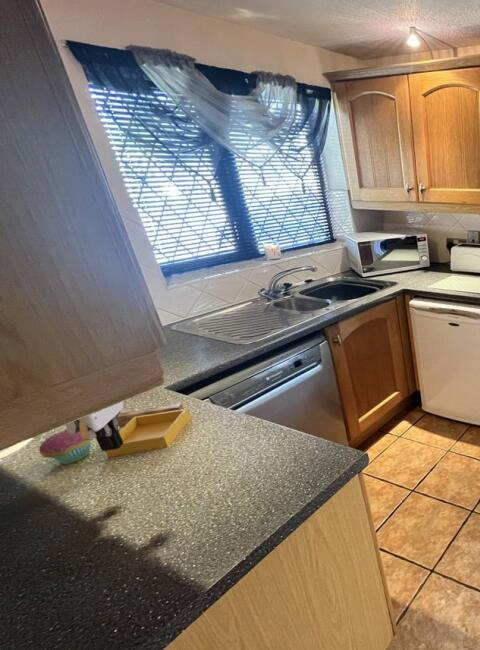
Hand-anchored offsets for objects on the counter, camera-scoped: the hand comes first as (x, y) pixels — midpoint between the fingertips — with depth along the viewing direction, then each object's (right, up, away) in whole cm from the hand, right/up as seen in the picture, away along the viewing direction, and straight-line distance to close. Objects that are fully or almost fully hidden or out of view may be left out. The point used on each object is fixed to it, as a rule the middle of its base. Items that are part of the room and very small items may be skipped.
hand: (113, 447), depth 87 cm
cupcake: (-14, -4, +5) cm, 15 cm away
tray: (-2, -1, +11) cm, 12 cm away
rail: (-8, +1, +18) cm, 20 cm away
